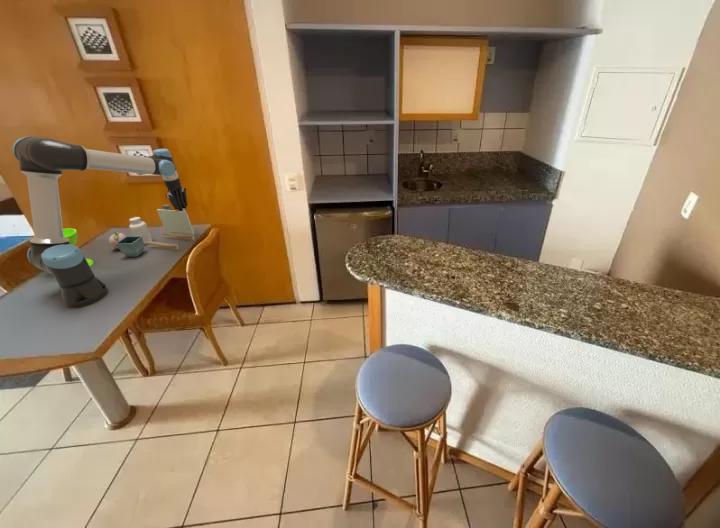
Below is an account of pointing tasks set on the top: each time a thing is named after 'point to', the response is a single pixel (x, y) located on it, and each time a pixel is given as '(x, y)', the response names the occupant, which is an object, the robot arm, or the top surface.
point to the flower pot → (131, 246)
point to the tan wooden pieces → (169, 235)
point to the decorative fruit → (116, 238)
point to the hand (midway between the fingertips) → (185, 219)
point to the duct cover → (175, 221)
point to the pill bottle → (140, 229)
